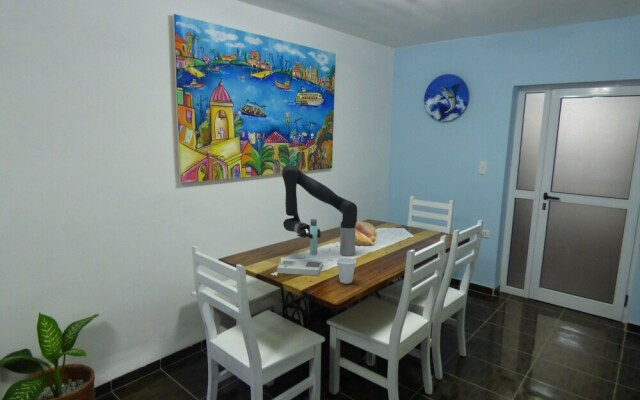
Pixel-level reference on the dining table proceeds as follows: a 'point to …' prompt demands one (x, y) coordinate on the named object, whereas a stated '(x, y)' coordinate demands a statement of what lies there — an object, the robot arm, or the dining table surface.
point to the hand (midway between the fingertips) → (315, 236)
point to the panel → (300, 267)
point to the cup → (346, 269)
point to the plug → (313, 241)
